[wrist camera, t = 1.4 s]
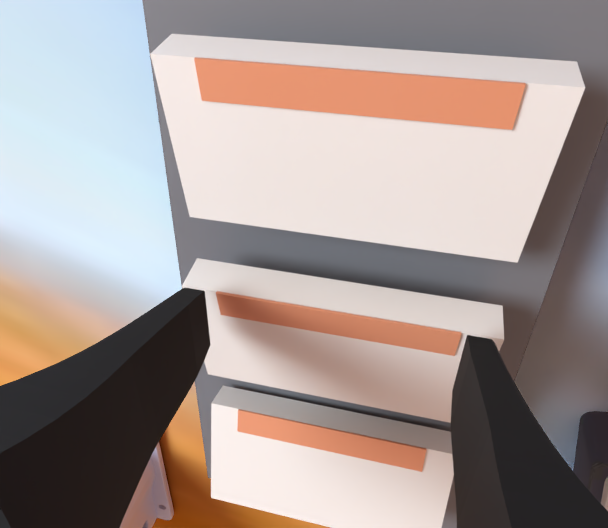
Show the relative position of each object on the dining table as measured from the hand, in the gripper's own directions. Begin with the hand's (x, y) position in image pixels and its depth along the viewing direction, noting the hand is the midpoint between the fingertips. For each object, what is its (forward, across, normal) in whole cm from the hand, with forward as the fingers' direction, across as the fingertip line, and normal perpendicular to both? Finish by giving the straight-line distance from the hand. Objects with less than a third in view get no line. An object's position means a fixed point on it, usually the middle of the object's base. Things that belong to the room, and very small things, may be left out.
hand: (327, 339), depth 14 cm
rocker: (+2, 0, +2) cm, 3 cm away
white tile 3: (+2, 0, -5) cm, 5 cm away
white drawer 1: (+2, 0, +8) cm, 8 cm away
